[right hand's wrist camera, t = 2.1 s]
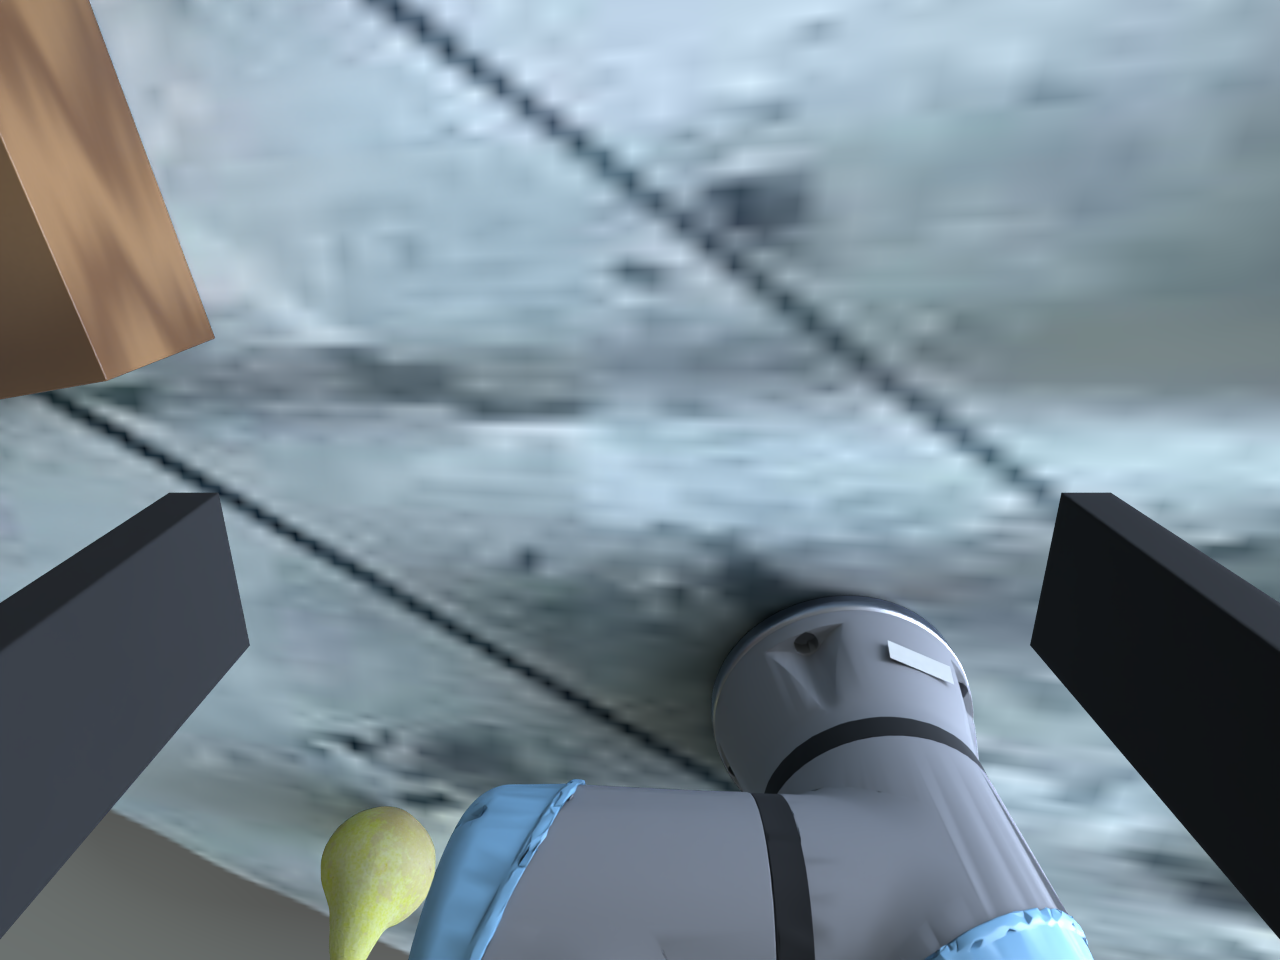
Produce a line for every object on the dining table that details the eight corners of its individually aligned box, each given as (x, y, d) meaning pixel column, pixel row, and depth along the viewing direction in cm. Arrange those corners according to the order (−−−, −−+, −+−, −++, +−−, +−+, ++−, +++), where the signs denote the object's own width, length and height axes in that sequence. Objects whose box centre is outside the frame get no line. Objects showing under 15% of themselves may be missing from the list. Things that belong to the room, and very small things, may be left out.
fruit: (418, 770, 50) (354, 944, 39) (467, 854, 52) (420, 1038, 41) (325, 798, 51) (236, 975, 39) (378, 879, 53) (308, 1067, 42)
